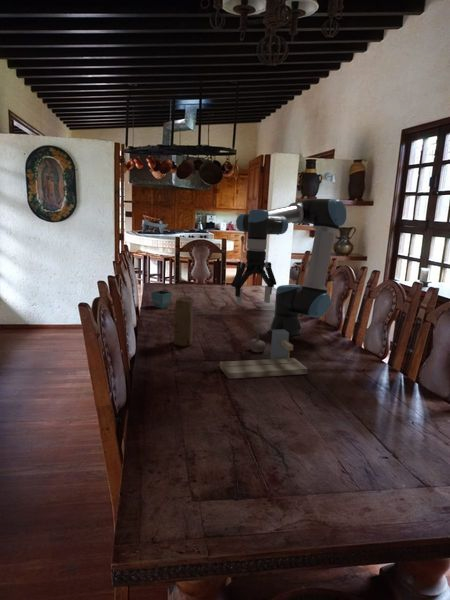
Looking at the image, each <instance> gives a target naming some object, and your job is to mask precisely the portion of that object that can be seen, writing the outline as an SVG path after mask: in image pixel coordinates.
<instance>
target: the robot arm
mask: <svg viewBox="0 0 450 600" xmlns="http://www.w3.org/2000/svg"><path fill="white" fill-rule="evenodd" d="M346 221H347V208H346V205H345V204H344V202H343V201H342V200H340V199H335V198H308V199H305V200H299V201H296V202H291V203H290V204H289V205H287V206H282V207H278V208H274V209H268V210H267V209H249V211H248V213H241V214H239V215H238V216H237V217H236V221H235V225H236V228H237V230H238V231H240V232H243V233H247V240H246V249H247V250H246V259H245V260H246V262H239V263H238V269H237V271H236V274H235V275H234V277H233V278H232V282H231V285H230V286H231V287H233V288H235V293H234V295H235V297H236V303H235V305H237V306H243V292H244V291H243V290H244V289H243V286H244V285H245V283H246V282H247V280H248V279H249V277H250V276H252V275H260V277H261V278H262V280H263V281H264V283H265V284H266V285H265V286H264V297H263V298H264V299H263V300H264V301H263V302H264V303H267V304H270V303H271V295H272V293H273V292H272V290H273V288H274V287H275V286H276V285H277V281H276V277H275V275H274V274H275V273H274V271H273V269H272V262H269V261H266V259H267V258H266V257H267V252H266V250H267V241H268V235H276V236H279V235H284V234H285V233H286V232H287V231H288V229H289V224H290V223H292V224H295V225H296V224H309V225H312V227H313V229H314V238H313V243H312V250H311V255H310V261H309V265H308V271H307V276H306V282H305V283H304V284H302V286H301V285H300V284H283V285H282V284H281V285H279V286H277V288H276V291H275V292H276V293H275V301H274V302H275V305H274V307H275V308H274V317H273V318H272V321H271V324H270V328H269V331H270V332H271V333H272V330H282V329H284V330H286V331H287V332H289V337H290V336H297V335H300V334H302V326H301V322H300V315H303V316H307V317H310V318H318V319H320V318H322V317H323V316H326V314H327V312H328V311H329V309H330V305H331V301H332V300H331V295H329V293H328V288H327V287H326V281H327V276H328V269H329V265H330V259H331V255H332V249H333V244H334V238H335V234H336V233H337V232H339V228H340V227H342V226H343V225H345V223H346ZM265 270H266V271H265Z"/></svg>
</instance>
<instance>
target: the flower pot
mask: <svg viewBox="0 0 450 600" xmlns="http://www.w3.org/2000/svg"><path fill="white" fill-rule="evenodd" d="M150 294H151V296H150V297H151V301H152V304H153V305H154V307H155V308H159V309H164V308H167V307H168V306H169V305H170V303H171V300H172V295H173V292H172V291H166V290H160V289H159V290H156V291H151V292H150Z"/></svg>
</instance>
